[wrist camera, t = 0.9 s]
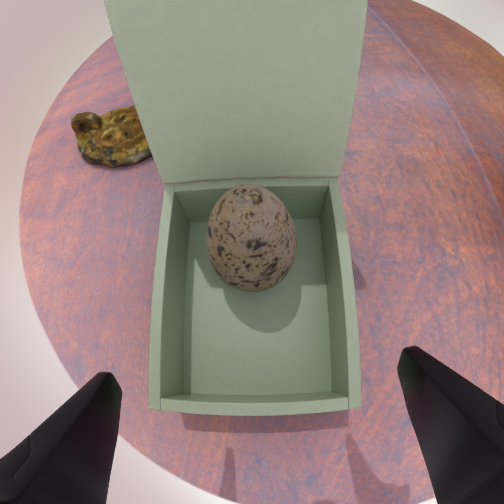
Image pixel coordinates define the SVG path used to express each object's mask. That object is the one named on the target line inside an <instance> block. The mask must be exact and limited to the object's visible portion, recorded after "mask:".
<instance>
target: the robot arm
mask: <svg viewBox="0 0 504 504" xmlns="http://www.w3.org/2000/svg"><path fill="white" fill-rule="evenodd" d="M397 371H398V375H399V379H400V383H401V387H402V390H403V394H404V398H405V402H406V406H407V410H408V413H409V416H410V419H411V422H412V425H413V427H414V430H415V433H416V436H417V439H418V442H419V445H420V448H421V451H422V454H423V457H424V460H425V463H426V466H427V469H428V472H429V476H430V479H431V482H432V486H433V489H434V493H435V496H436V500H437V503H438V504H504V405H503V404H502V403H500V402H499V401H498V400H496V399H495V398H493V397H492V396H490V395H489V394H487V393H486V392H484V391H483V390H481V389H480V388H478V387H477V386H475V385H474V384H473V383H471V382H470V381H468V380H467V379H465V378H464V377H462V376H461V375H459V374H458V373H456V372H455V371H453V370H452V369H450V368H449V367H447V366H446V365H444V364H443V363H441V362H440V361H438V360H437V359H435V358H434V357H432V356H431V355H429V354H428V353H426V352H425V351H423V350H422V349H420V348H419V347H417V346H410V347H406V348H404V349H403V350H402V353H401V357H400V360H399V363H398V367H397ZM121 400H122V390H121V387H120V386H119V384H118V382H117V380H116V379H115V377H114V375H113V374H112V373H111V372H99V373H98V374H96V375H95V376H94V377H93V378H92V379H91V380H90V381H89V382H87V383H86V384H85V385H84V386H83V387H82V388H81V389H80V390H79V391H77V392H76V393H75V394H74V395H73V396H72V397H71V398H70V399H69V400H67V401H66V402H65V403H64V404H63V405H62V406H61V407H60V408H58V409H57V410H56V411H55V412H54V413H53V414H52V415H51V416H50V417H48V418H47V419H46V420H45V421H44V422H43V423H42V424H41V425H40V426H39V427H38V428H36V429H35V430H34V431H33V432H32V433H31V434H30V435H29V436H28V437H26V438H25V439H24V440H23V441H22V442H21V443H20V444H18V445H17V446H16V447H15V448H14V449H13V450H11V451H10V452H9V453H7V454H6V455H5V456H4V457H2V458H1V459H0V504H106V500H107V493H108V487H109V480H110V474H111V468H112V463H113V457H114V452H115V447H116V441H117V436H118V429H119V419H120V409H121Z"/></svg>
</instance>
